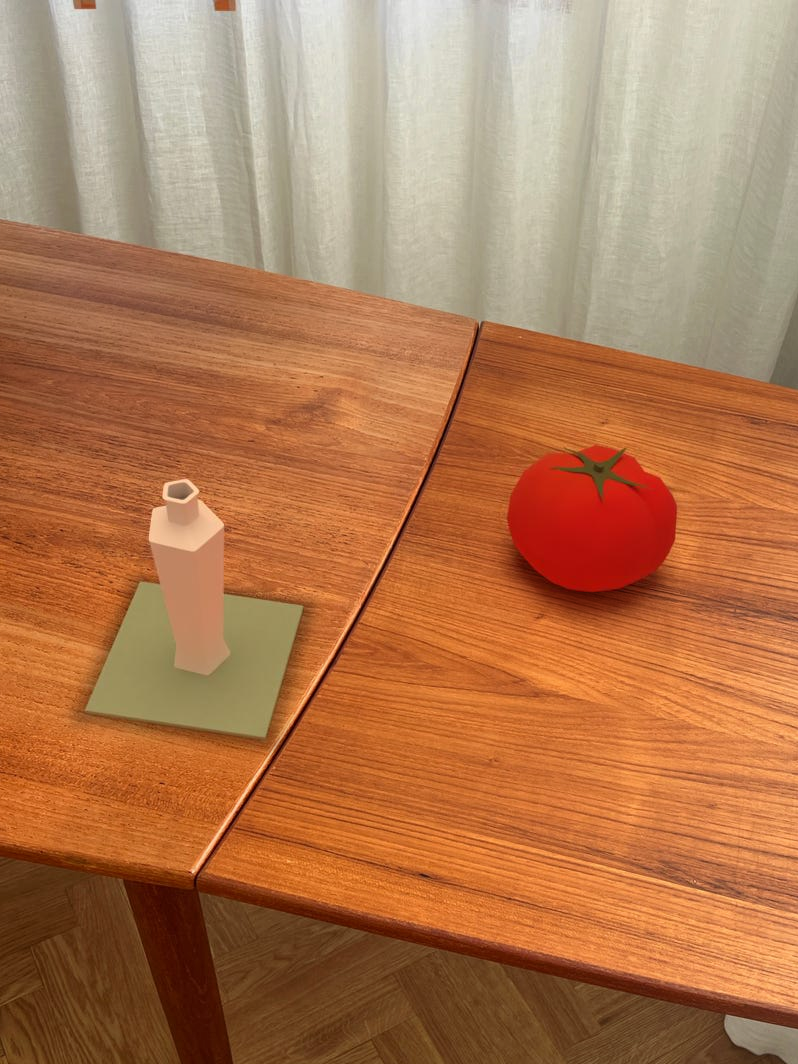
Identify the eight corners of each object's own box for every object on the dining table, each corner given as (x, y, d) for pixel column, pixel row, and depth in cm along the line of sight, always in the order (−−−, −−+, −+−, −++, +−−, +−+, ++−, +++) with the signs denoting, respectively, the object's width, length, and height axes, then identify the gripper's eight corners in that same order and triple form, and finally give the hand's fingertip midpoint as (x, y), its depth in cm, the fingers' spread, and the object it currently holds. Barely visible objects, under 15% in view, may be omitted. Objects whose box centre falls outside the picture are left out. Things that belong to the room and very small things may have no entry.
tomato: (662, 629, 86) (694, 530, 79) (494, 605, 86) (510, 504, 78) (660, 527, 94) (690, 428, 86) (506, 506, 93) (522, 404, 86)
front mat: (85, 715, 76) (84, 710, 75) (140, 586, 84) (139, 580, 83) (265, 742, 76) (265, 737, 75) (303, 610, 84) (303, 605, 83)
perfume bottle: (152, 648, 79) (123, 485, 68) (207, 620, 81) (188, 457, 70) (188, 690, 77) (164, 529, 66) (244, 660, 79) (230, 499, 68)
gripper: (-56, -231, 66) (-4, 24, 76) (302, -211, 70) (306, 27, 81) (-50, -260, 70) (-1, -14, 80) (289, -239, 74) (294, -9, 85)
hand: (155, 7), depth 80 cm, fingers open, 8 cm apart
